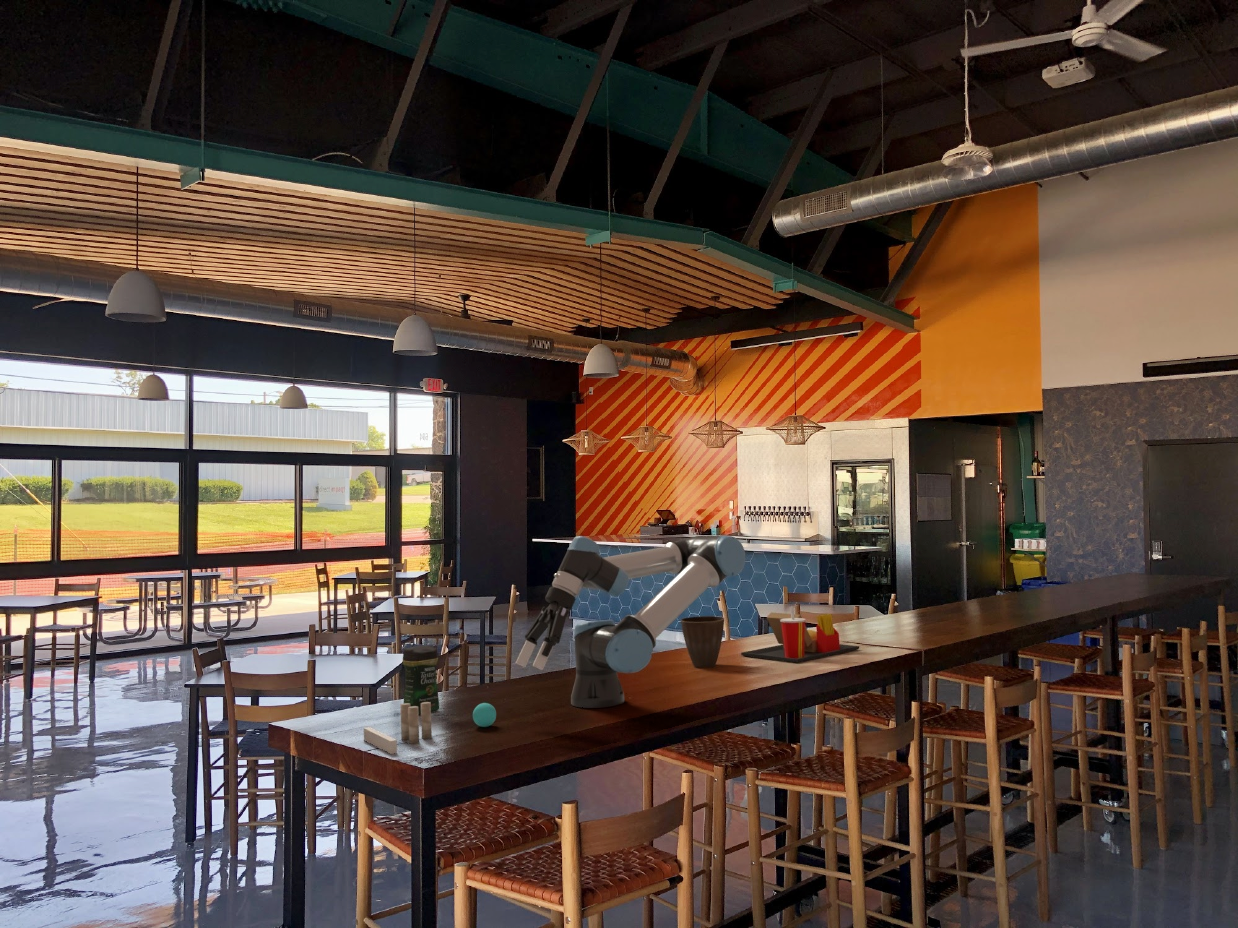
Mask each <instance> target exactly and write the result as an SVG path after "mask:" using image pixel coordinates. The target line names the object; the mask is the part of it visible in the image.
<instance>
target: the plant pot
mask: <svg viewBox="0 0 1238 928" xmlns="http://www.w3.org/2000/svg"><path fill="white" fill-rule="evenodd" d="M680 624H681V625H680V626H681V630H682V635H683V639H684V643H685V646H686V650H687V652H688V655H689V657H690V660H691V663H692V666H693V667H694V668H698V669H699V668H700V669H707V668H713V667H716V665H717V661H718V659H719V655H720V650H721V647H722V640H723V635H724V625H725V617H723V616H722V617H721V616H713V615H709V616H707V615H705V616H703V615H701V616H690V617H683V618H681V619H680Z"/></svg>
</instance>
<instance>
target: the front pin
mask: <svg viewBox="0 0 1238 928" xmlns="http://www.w3.org/2000/svg"><path fill="white" fill-rule="evenodd" d="M420 723H421V739H422V740H429V739H432V737H433V736H432V733H433V732H432V713H431V703H430V702H423V703H421V715H420Z"/></svg>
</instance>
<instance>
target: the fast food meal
mask: <svg viewBox="0 0 1238 928" xmlns="http://www.w3.org/2000/svg"><path fill="white" fill-rule="evenodd" d="M794 608H795V607H794V606H790V613H783V612H781V613H780V612H770V613H769V614H768V615H767V616H766V619H767V622H768V624H769V626H770V628H771V630H772V633H773V634H774V636H775V639H776V641H777V644H779V645H773V646H768V647H763V648H757V649H753V650H747V651H741V652H740V656H743V657H749V658H754V659H763V660H772V661H779V662H786V663H795V664H799V663H804V662H807V661H808V662H809V661H813V660H819V659H822V658H826V657H832V656H836V655H840V654H844V653H850V652H855V651H858V650H859V649H860V646H859V645H850V644H841V643H840V632H838V631H837V629H836V628H835V627H834V623H833V617H832V614H831V613H828V614H821V615H817V616H816V620H817V624H816V626H815V627H816V630H812V629H808V628H807V626H806V621H807V620H806V618H803V617H802V615H801V614H796V613H795V610H794Z"/></svg>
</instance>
